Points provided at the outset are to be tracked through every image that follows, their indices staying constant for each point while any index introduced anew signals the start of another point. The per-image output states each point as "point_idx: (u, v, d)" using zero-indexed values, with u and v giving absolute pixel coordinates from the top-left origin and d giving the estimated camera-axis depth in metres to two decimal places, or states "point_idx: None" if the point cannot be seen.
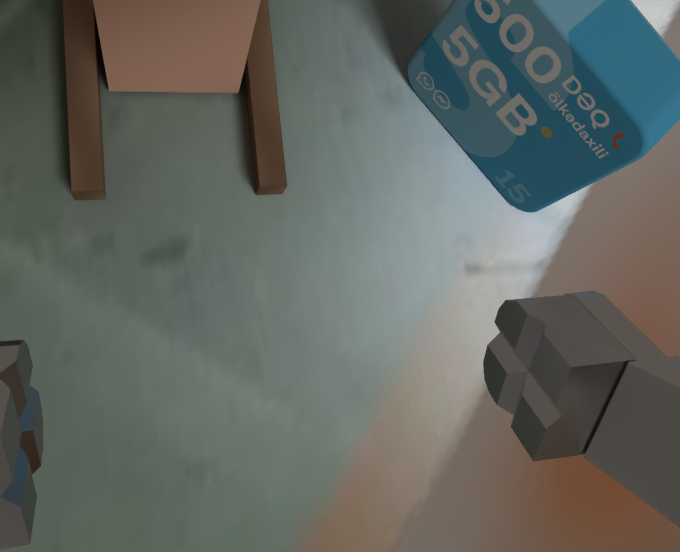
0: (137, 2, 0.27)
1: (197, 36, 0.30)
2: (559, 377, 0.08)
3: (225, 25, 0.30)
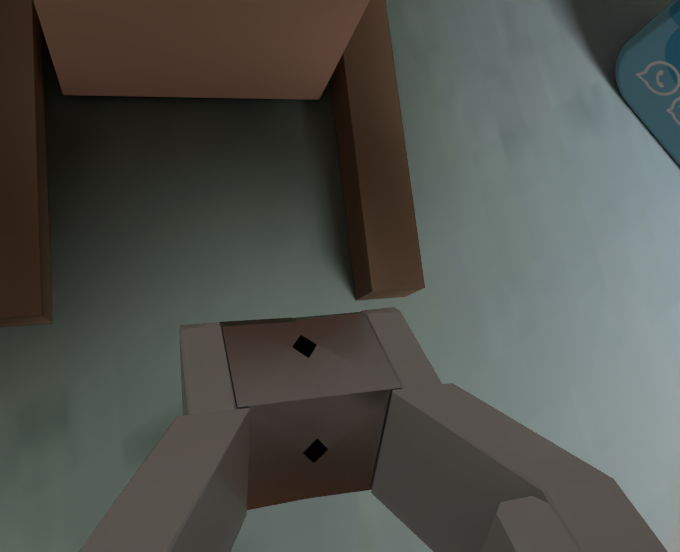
0: None
1: None
2: None
3: None
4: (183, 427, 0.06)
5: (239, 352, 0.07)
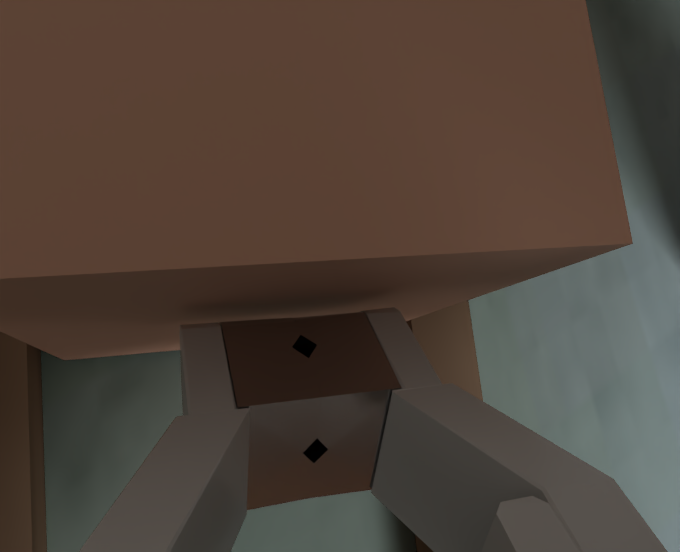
0: (135, 287, 0.06)
1: (331, 304, 0.09)
2: None
3: (437, 286, 0.09)
4: (183, 427, 0.06)
5: (239, 352, 0.07)
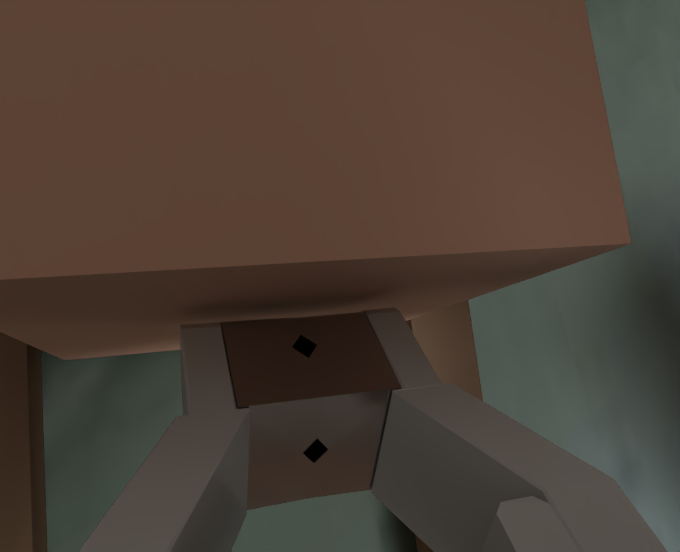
0: (134, 286, 0.06)
1: (331, 304, 0.09)
2: None
3: (437, 286, 0.09)
4: (183, 427, 0.06)
5: (239, 352, 0.07)
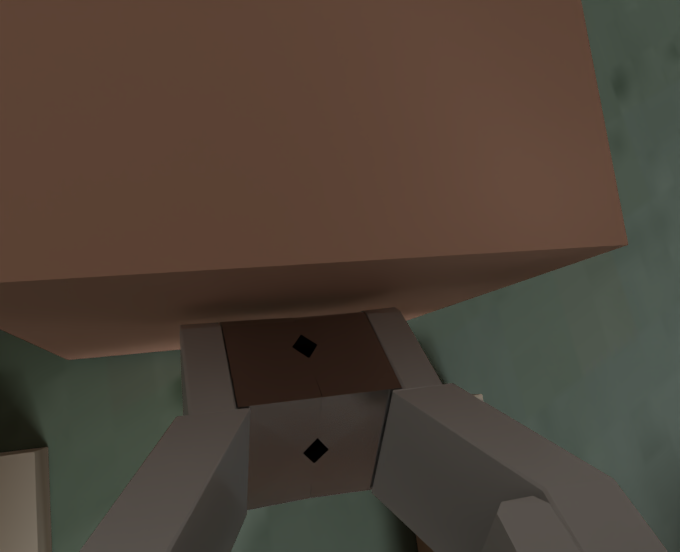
0: (139, 289, 0.06)
1: (332, 304, 0.09)
2: None
3: (436, 286, 0.09)
4: (183, 427, 0.06)
5: (239, 352, 0.07)
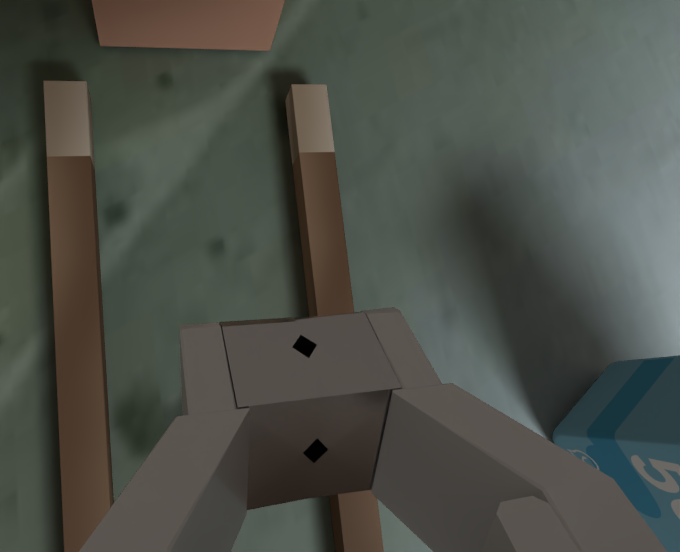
0: None
1: None
2: None
3: None
4: (183, 427, 0.06)
5: (239, 352, 0.07)
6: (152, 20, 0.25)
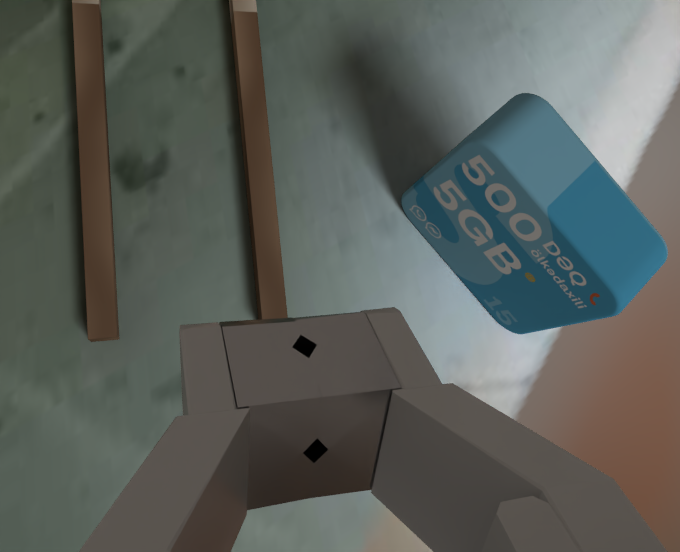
0: None
1: None
2: None
3: None
4: (183, 427, 0.06)
5: (239, 352, 0.07)
6: None
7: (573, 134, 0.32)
